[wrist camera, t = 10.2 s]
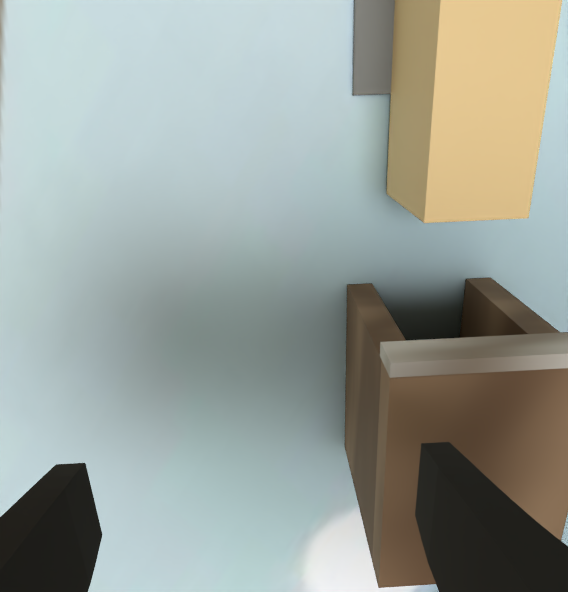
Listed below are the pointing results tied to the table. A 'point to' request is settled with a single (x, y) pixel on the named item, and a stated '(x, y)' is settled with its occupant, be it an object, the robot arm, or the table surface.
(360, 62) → the mat
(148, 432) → the table surface
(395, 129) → the tan rectangular block
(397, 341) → the brown wooden open box
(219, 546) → the table surface
